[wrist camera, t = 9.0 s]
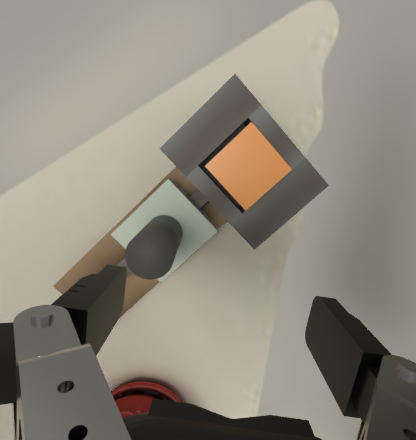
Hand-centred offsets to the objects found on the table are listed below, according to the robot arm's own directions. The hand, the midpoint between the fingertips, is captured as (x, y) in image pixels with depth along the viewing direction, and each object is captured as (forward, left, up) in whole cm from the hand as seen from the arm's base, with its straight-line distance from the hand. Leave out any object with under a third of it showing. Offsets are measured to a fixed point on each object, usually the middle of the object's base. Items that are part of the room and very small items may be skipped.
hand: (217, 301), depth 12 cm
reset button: (-2, +5, -11) cm, 12 cm away
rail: (-2, -5, -21) cm, 21 cm away
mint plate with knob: (-2, -4, -19) cm, 19 cm away
